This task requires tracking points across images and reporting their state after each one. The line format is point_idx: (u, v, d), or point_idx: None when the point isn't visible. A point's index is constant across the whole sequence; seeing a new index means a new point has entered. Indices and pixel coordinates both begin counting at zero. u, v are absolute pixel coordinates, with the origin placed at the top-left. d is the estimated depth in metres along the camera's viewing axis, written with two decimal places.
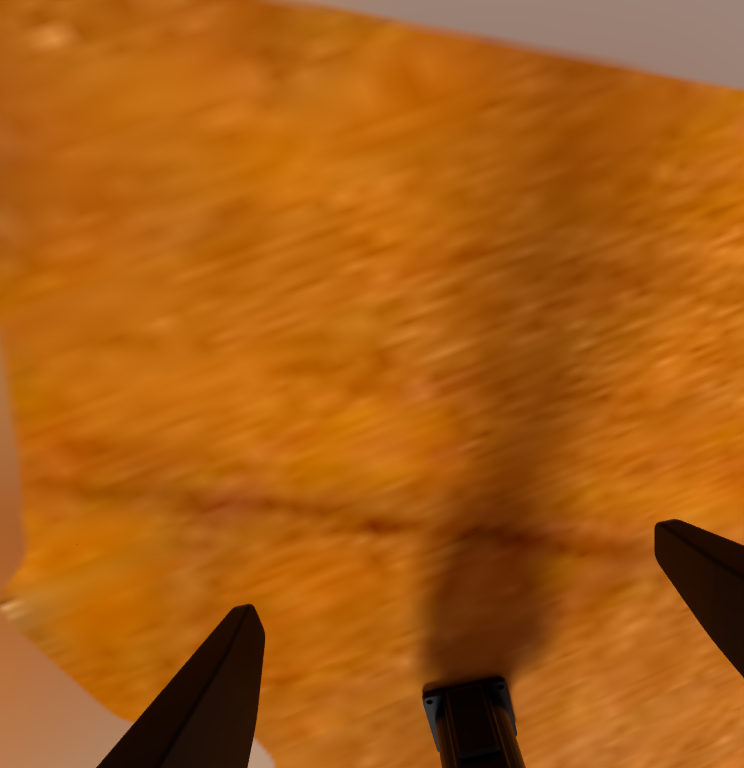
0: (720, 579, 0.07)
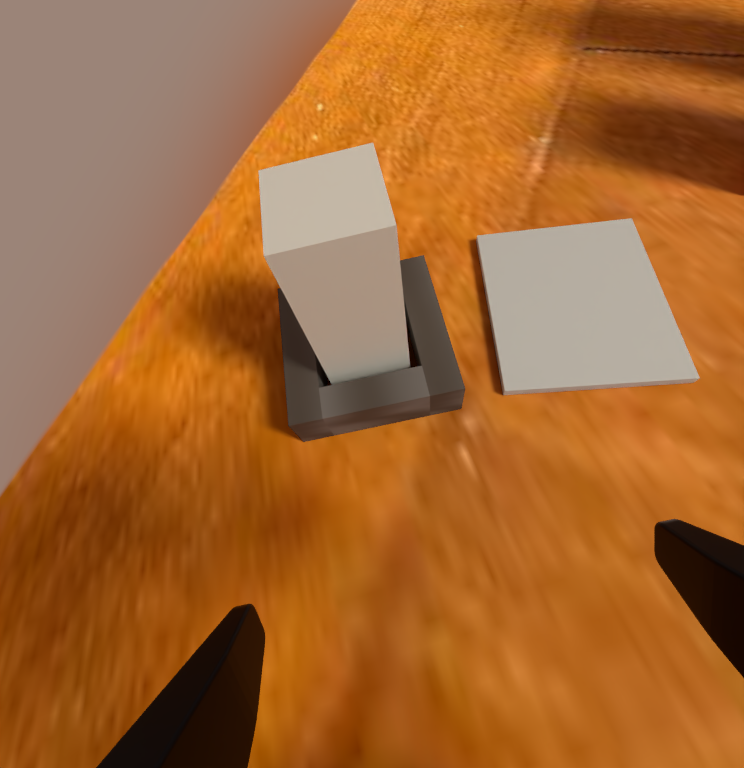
0: (720, 579, 0.07)
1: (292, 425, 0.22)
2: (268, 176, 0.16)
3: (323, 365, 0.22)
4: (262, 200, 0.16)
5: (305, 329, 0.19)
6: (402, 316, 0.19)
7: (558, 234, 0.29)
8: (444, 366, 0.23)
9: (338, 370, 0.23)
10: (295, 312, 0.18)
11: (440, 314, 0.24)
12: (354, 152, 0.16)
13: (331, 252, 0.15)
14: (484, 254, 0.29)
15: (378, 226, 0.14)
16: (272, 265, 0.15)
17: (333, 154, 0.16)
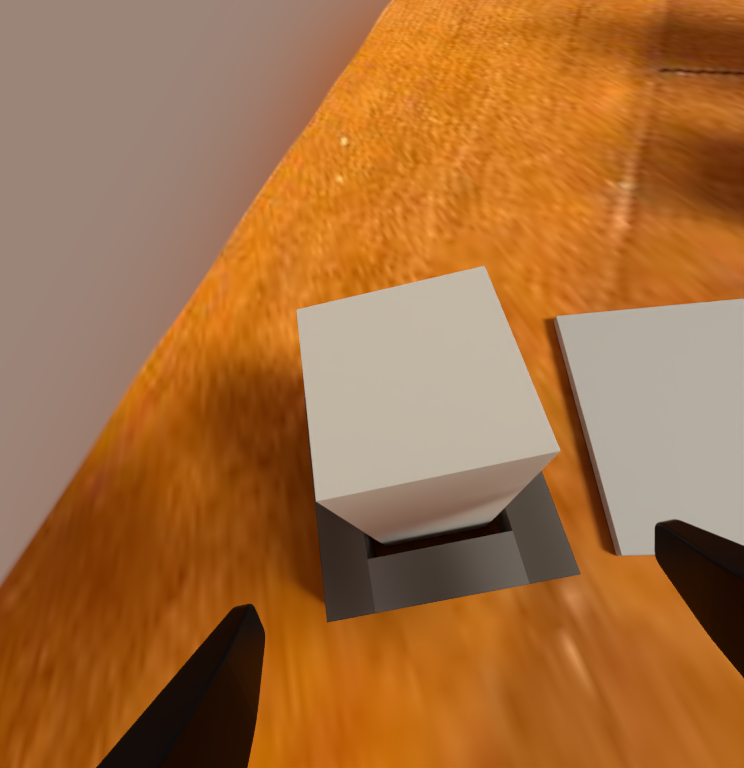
0: (720, 579, 0.07)
1: (332, 620, 0.16)
2: (313, 322, 0.10)
3: (377, 538, 0.16)
4: (305, 373, 0.09)
5: (362, 527, 0.12)
6: (507, 501, 0.13)
7: (665, 317, 0.22)
8: (545, 533, 0.16)
9: (395, 537, 0.16)
10: (352, 522, 0.11)
11: None
12: (455, 283, 0.10)
13: (433, 483, 0.08)
14: (568, 343, 0.22)
15: (525, 451, 0.08)
16: (328, 504, 0.08)
17: (420, 286, 0.10)
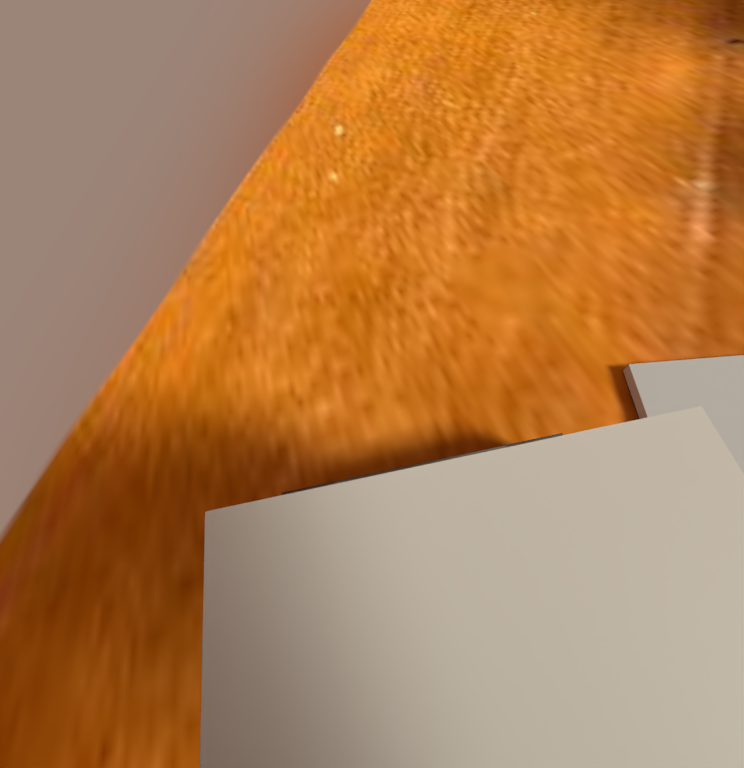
0: None
1: None
2: (244, 561, 0.04)
3: None
4: (208, 763, 0.03)
5: None
6: None
7: None
8: None
9: None
10: None
11: None
12: (629, 458, 0.04)
13: None
14: (649, 404, 0.16)
15: None
16: None
17: (531, 461, 0.04)
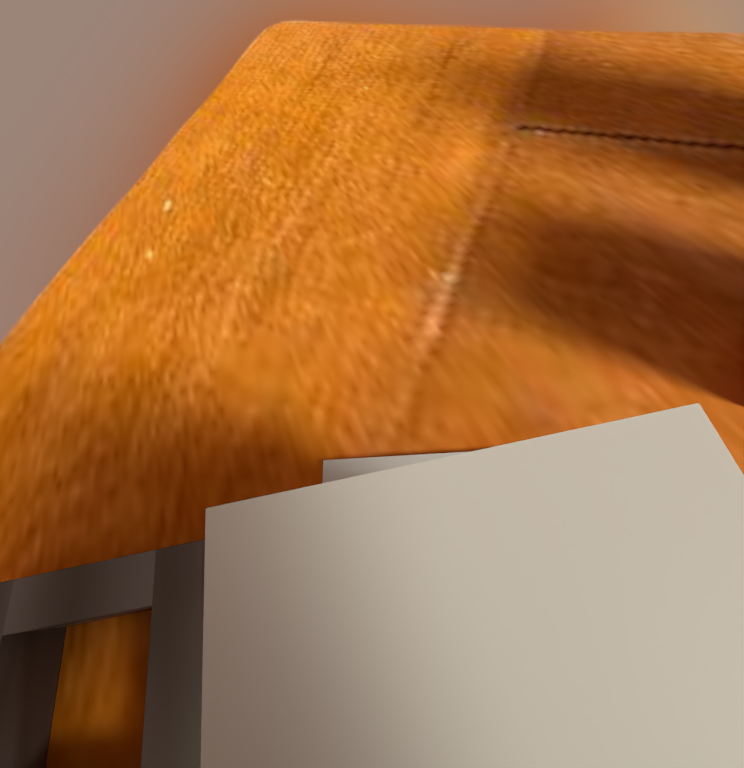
0: None
1: None
2: (245, 557, 0.04)
3: None
4: (209, 756, 0.03)
5: None
6: None
7: None
8: None
9: None
10: None
11: (197, 691, 0.14)
12: (627, 454, 0.04)
13: None
14: None
15: None
16: None
17: (529, 457, 0.04)
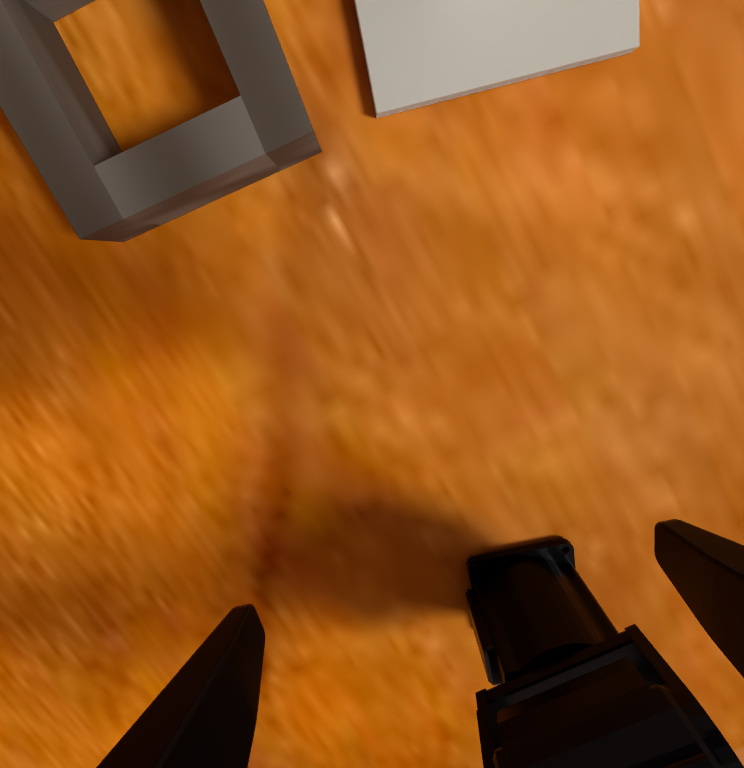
0: (720, 579, 0.07)
1: (85, 236, 0.16)
2: None
3: None
4: None
5: None
6: None
7: None
8: (275, 91, 0.14)
9: None
10: None
11: None
12: None
13: None
14: None
15: None
16: None
17: None
